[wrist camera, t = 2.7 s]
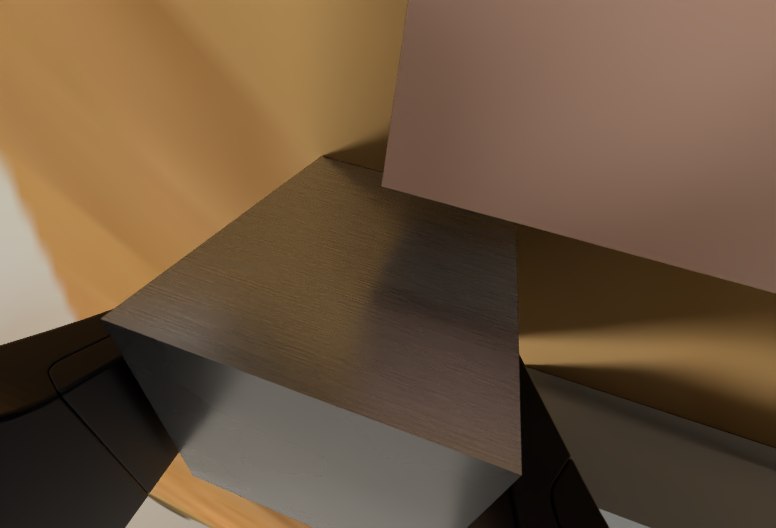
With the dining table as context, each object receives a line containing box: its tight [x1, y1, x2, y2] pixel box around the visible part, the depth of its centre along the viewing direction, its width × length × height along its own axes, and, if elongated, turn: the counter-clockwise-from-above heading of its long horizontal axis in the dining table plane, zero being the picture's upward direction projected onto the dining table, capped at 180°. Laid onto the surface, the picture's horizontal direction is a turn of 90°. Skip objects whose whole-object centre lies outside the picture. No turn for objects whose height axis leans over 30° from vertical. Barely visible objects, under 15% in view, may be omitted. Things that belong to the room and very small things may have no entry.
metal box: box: [101, 156, 522, 528], centre depth 8 cm, size 5×5×6 cm
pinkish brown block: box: [381, 0, 776, 293], centre depth 4 cm, size 6×4×4 cm
